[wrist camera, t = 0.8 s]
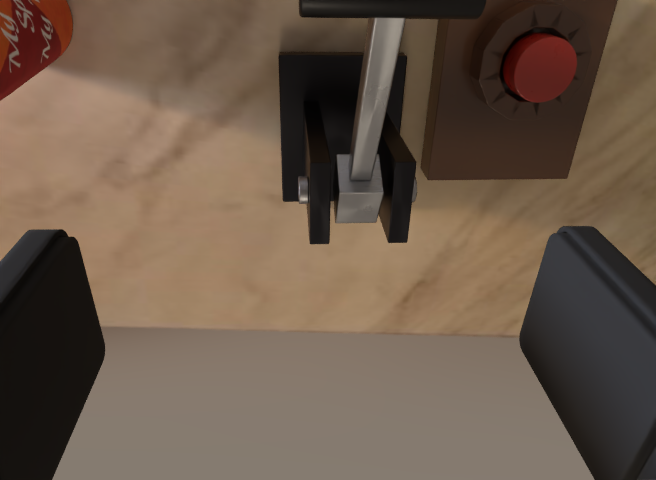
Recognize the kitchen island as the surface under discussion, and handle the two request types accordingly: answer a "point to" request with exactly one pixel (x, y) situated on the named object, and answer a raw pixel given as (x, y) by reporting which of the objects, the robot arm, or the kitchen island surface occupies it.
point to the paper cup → (31, 39)
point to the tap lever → (375, 90)
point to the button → (540, 67)
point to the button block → (508, 92)
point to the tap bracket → (338, 138)
